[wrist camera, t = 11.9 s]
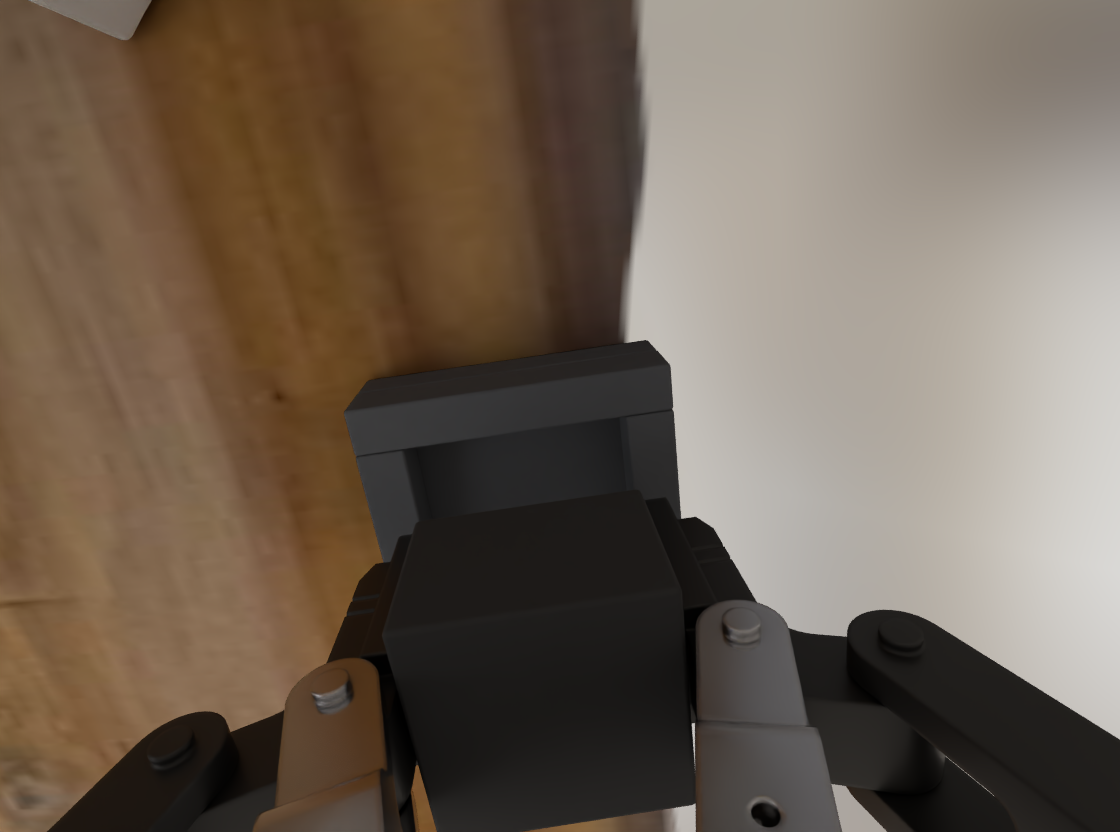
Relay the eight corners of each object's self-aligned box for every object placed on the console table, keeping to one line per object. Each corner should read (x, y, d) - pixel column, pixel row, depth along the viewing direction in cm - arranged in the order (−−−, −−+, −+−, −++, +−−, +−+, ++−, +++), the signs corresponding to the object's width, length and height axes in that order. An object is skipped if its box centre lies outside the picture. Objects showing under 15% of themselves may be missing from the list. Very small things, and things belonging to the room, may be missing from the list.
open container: (366, 379, 14) (342, 411, 12) (648, 338, 15) (670, 364, 12) (424, 614, 17) (412, 673, 15) (667, 576, 17) (689, 630, 15)
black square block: (414, 519, 11) (379, 634, 8) (640, 487, 11) (683, 588, 8) (456, 696, 12) (438, 847, 9) (657, 666, 12) (699, 807, 10)
